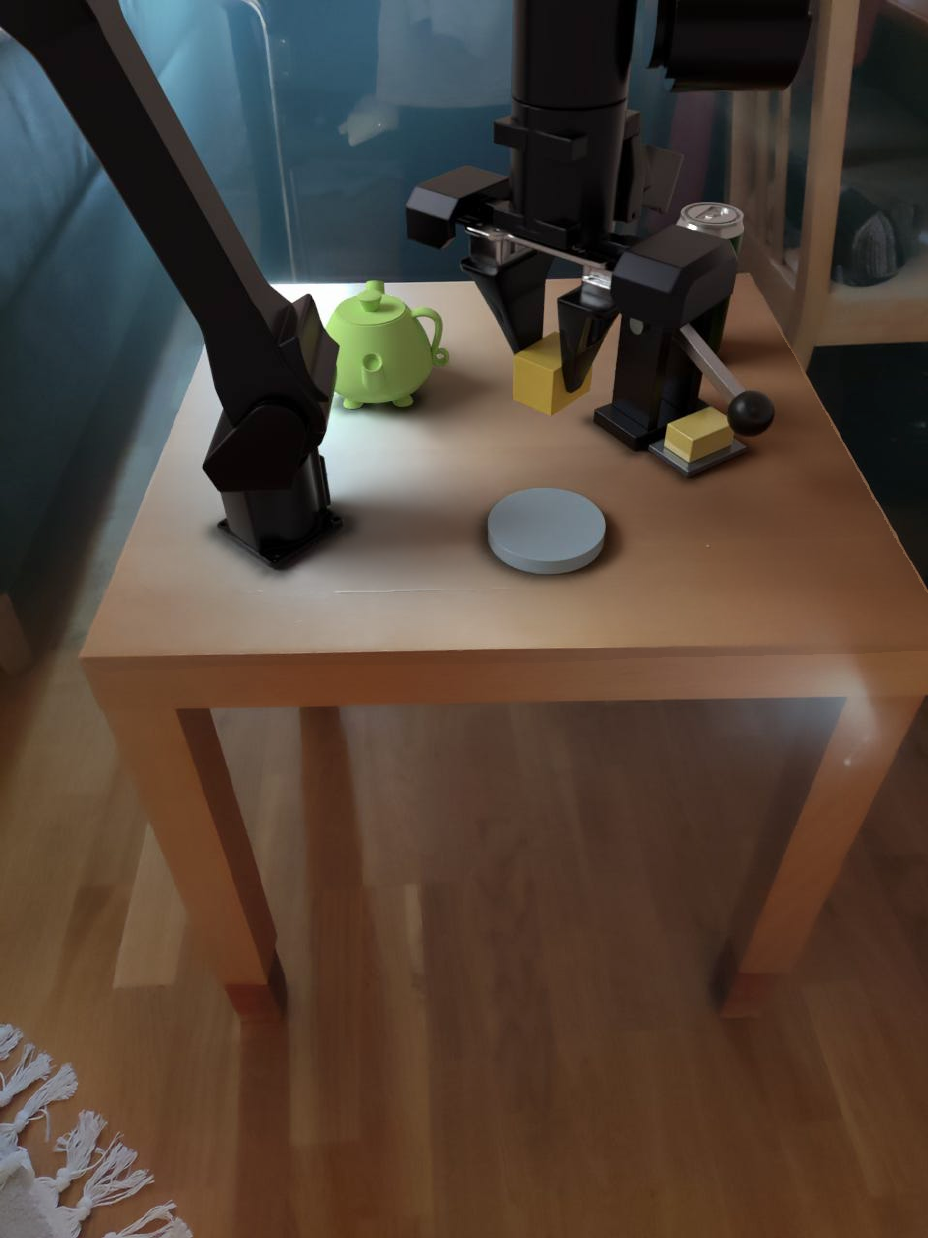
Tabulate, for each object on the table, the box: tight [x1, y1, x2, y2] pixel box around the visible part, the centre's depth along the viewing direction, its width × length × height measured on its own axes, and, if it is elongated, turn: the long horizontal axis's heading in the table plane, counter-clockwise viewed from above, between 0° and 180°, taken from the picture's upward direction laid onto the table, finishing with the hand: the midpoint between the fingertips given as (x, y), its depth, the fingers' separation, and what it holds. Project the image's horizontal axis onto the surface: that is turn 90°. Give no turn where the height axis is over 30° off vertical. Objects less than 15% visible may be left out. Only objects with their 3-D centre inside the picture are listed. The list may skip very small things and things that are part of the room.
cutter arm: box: [671, 323, 776, 438], centre depth 63 cm, size 13×3×3 cm, turn 33°
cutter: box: [592, 305, 716, 451], centre depth 68 cm, size 5×8×11 cm, turn 123°
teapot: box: [324, 279, 451, 410], centre depth 72 cm, size 11×12×8 cm
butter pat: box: [512, 330, 593, 417], centre depth 54 cm, size 4×3×3 cm
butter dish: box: [648, 406, 748, 478], centre depth 67 cm, size 4×6×2 cm
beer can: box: [675, 201, 745, 356], centre depth 75 cm, size 5×5×12 cm
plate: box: [487, 487, 607, 575], centre depth 61 cm, size 8×8×1 cm
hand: (552, 381), depth 54 cm, fingers closed on butter pat, 3 cm apart
